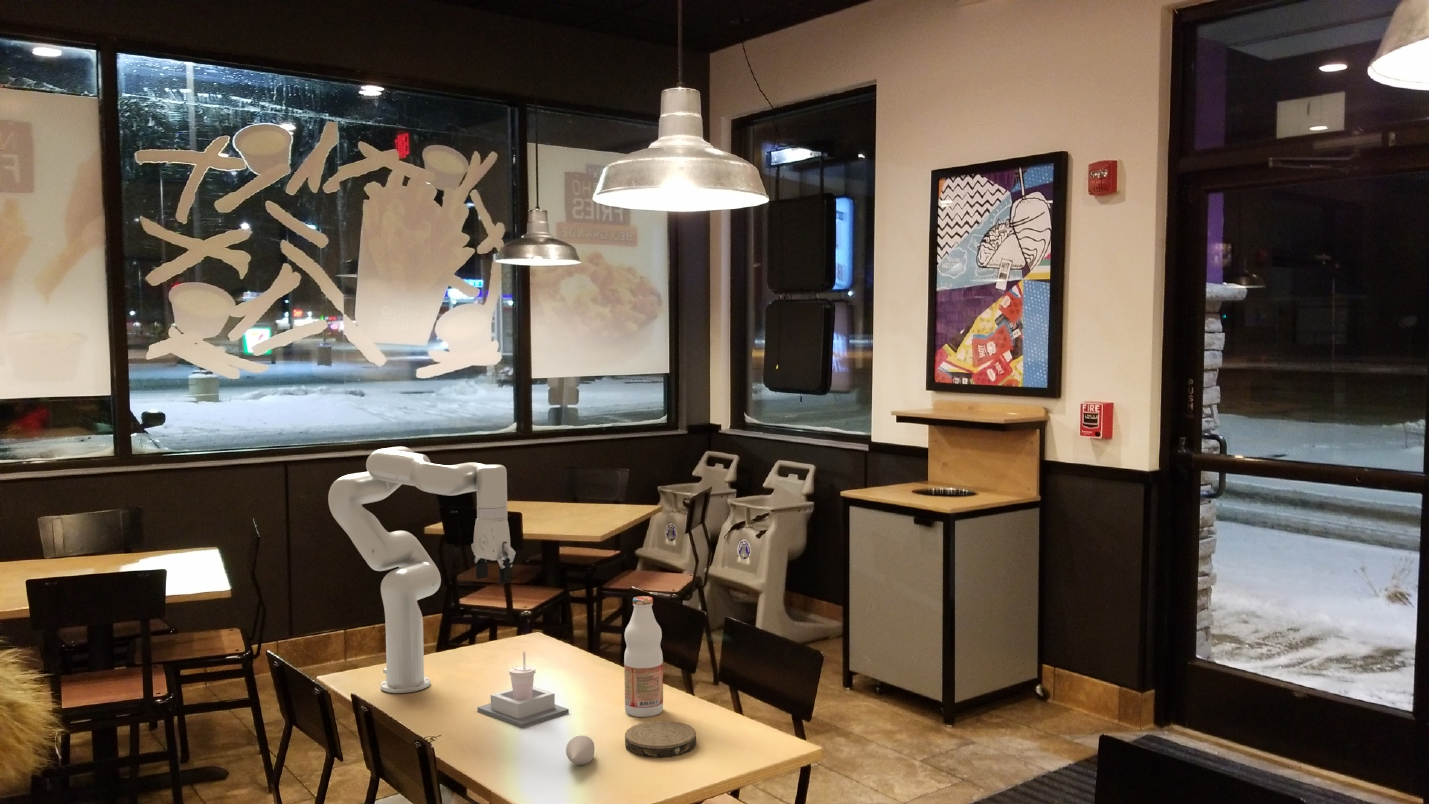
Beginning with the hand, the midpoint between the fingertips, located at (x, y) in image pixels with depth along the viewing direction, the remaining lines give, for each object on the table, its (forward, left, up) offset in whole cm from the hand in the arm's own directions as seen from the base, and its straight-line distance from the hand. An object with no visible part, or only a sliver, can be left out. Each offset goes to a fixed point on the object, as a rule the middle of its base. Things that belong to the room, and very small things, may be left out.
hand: (493, 580), depth 272 cm
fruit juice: (+36, +18, -31) cm, 50 cm away
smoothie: (+14, -2, -30) cm, 33 cm away
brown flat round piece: (+55, +5, -31) cm, 63 cm away
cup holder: (+14, -2, -30) cm, 33 cm away
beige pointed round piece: (+51, -15, -31) cm, 61 cm away
